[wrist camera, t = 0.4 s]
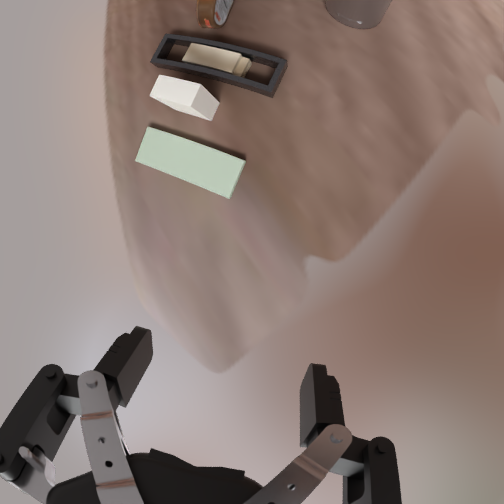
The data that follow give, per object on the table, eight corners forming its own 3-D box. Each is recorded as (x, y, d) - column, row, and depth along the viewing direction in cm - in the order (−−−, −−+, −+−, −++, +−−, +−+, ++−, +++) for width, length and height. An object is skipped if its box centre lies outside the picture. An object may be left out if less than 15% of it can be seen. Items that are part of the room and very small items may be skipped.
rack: (171, 39, 33) (165, 33, 31) (287, 67, 32) (286, 60, 30) (157, 67, 35) (150, 61, 32) (272, 98, 34) (271, 92, 32)
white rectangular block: (184, 92, 35) (159, 74, 27) (219, 102, 35) (200, 84, 27) (176, 110, 36) (149, 95, 28) (211, 121, 36) (190, 106, 28)
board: (151, 127, 37) (147, 126, 36) (246, 161, 37) (244, 160, 36) (138, 161, 39) (135, 160, 38) (230, 198, 38) (228, 198, 37)
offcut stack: (195, 50, 33) (189, 42, 31) (252, 64, 33) (249, 56, 30) (186, 66, 34) (179, 59, 32) (243, 81, 34) (239, 74, 31)
